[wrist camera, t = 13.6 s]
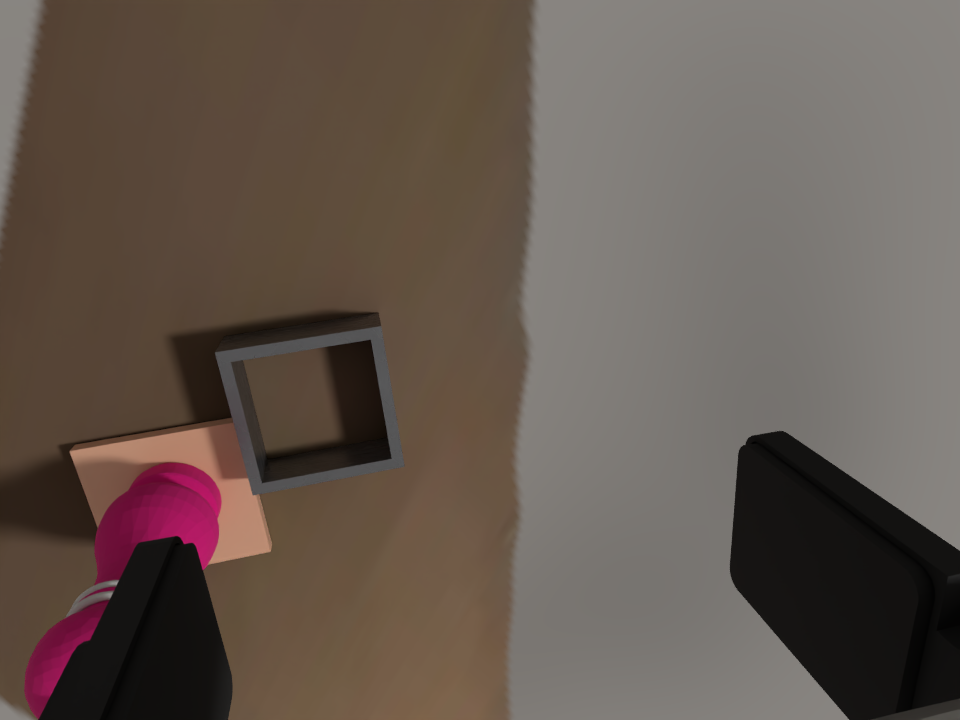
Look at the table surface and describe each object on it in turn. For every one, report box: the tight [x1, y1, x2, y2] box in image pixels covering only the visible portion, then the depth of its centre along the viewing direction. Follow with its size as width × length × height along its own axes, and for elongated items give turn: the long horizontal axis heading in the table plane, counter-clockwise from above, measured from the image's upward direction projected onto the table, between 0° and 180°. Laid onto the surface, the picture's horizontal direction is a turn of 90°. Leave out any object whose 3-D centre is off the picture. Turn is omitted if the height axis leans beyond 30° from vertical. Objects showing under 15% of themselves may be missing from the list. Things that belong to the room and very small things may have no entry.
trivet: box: [70, 418, 272, 564], centre depth 47 cm, size 11×11×1 cm
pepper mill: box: [24, 463, 222, 719], centre depth 37 cm, size 7×7×20 cm
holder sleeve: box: [215, 313, 404, 495], centre depth 45 cm, size 11×11×4 cm
